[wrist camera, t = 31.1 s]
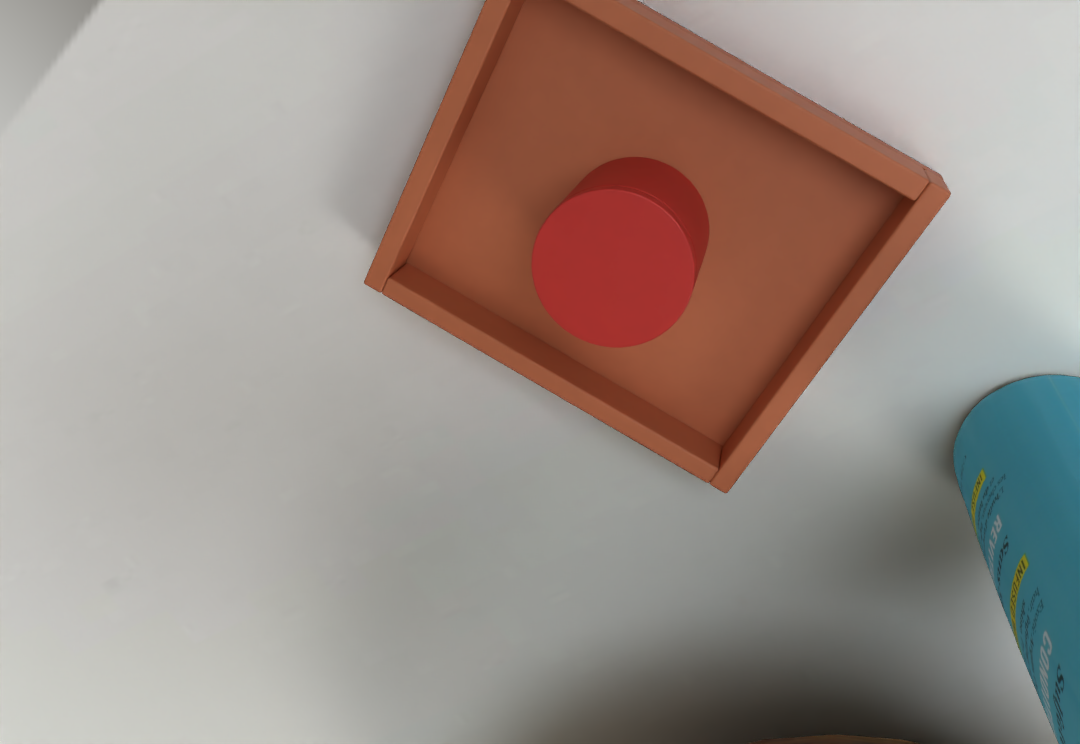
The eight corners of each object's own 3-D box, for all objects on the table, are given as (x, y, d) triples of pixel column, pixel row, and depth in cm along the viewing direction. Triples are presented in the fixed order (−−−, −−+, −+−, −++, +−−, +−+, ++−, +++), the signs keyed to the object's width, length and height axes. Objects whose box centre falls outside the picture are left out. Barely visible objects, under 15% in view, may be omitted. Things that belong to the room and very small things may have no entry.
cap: (705, 304, 27) (691, 356, 24) (565, 295, 28) (533, 344, 25) (713, 158, 25) (698, 191, 22) (563, 154, 26) (528, 185, 23)
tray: (389, 263, 30) (362, 283, 28) (531, -61, 25) (510, -60, 23) (731, 461, 29) (726, 495, 28) (942, 175, 25) (952, 193, 23)
